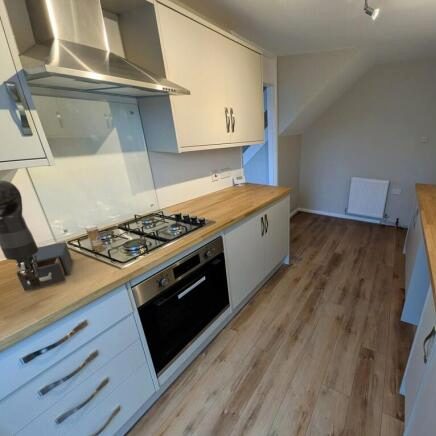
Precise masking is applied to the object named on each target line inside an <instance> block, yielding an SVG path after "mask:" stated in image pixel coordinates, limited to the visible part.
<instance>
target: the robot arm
mask: <svg viewBox="0 0 436 436" xmlns="http://www.w3.org/2000/svg"><path fill="white" fill-rule="evenodd" d="M22 198H23V197H22V194H21V191H20V190H19V188H18V187H17V186H16V185H15V184H14V183H13V182H11V181H8V180H0V249H1V251H2V254H3V256H4V258H5V259H6V260H9V261H15V262H16V263H15V266H16V268H17V269H18V270H19V271H17V272H16V275H17V274H18V275H19V276H20V277H21V278H23V279H24V280H29V282H30V284H31V287H33V288H34V287H38V286H40V285H41V281H40V279H39V276H38V271H39V269H38V264H37V258H36V255H34V254H35V253H37V252H38V248H37V247H38V245H37V242H36V241H35V238H34V235H33V234H32V231H31V230H30V228H29V226H28V224H27V223H26V220H25V217H24V215H23V199H22Z"/></svg>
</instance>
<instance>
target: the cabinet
mask: <svg viewBox="0 0 436 436" xmlns="http://www.w3.org/2000/svg"><path fill="white" fill-rule="evenodd" d="M37 248H38V252H37V253H35V254H34V255H36V258H37V262H41V261H45V260H50V259H54V258H59V257H60V258H61V261H62V263H63V266H64V268H65V274H64V276H65V277H66V276H70V275H71V270H72V265H73V258H72V255H71V252H70V249H69V247H68V244H67V242H66V241H64V242H58V243H53V244H47V245H42V246H37Z"/></svg>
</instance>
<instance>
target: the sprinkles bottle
mask: <svg viewBox="0 0 436 436" xmlns="http://www.w3.org/2000/svg"><path fill="white" fill-rule="evenodd" d="M84 229H85V232H86V233H87V238H88V241H89V244H90V247H91V249H92V252H93V253H99V252H102V251H104V246H103V243H102V239H101V236H100V233H99V227H98V225H97V224H89V225H86V226H84ZM93 250H95V251H93Z"/></svg>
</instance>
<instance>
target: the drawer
mask: <svg viewBox="0 0 436 436" xmlns="http://www.w3.org/2000/svg"><path fill="white" fill-rule="evenodd" d="M37 264H38V269H39V271H38V276H39V279H40V281H41V285H40V286H38V287H34V288H33V287H31V284H30V282H29V280H24V279H23V278H21V277H20V276H19V275H18V274H17V273H16V276H17V278H18V281H19V282H20V284H21V287H22V288H23V290H24V292H28V291H32V290H36V289H39V288H43V287H47V286H51V285H54V284H59V283H62V282H65V281H66V280H67V278H66V276H64V274H65V268H64V266H63V263H62V261H61V258H60V257H59V258H54V259H50V260H45V261H41V262H37Z"/></svg>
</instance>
